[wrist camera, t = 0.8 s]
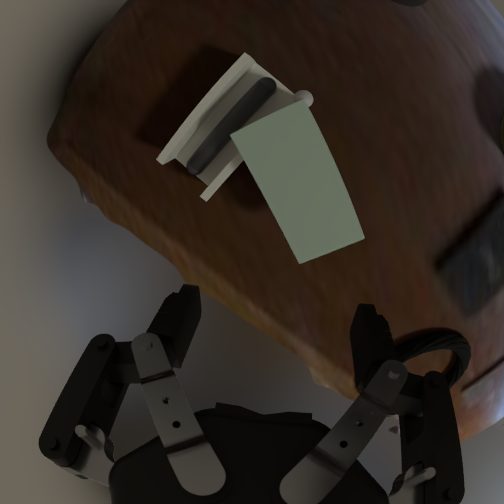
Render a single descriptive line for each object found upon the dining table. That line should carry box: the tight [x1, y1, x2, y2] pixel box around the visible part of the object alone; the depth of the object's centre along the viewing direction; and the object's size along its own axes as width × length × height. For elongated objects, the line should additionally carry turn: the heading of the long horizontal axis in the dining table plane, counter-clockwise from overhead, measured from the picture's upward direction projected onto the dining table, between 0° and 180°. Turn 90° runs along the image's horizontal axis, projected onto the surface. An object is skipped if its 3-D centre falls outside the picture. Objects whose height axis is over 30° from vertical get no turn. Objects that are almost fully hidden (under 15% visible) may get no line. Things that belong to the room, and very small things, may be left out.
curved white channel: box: [156, 53, 296, 202], centre depth 30 cm, size 16×8×6 cm, turn 138°
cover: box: [230, 90, 365, 264], centre depth 28 cm, size 17×9×2 cm, turn 28°
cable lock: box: [363, 332, 471, 417], centre depth 50 cm, size 28×4×30 cm
